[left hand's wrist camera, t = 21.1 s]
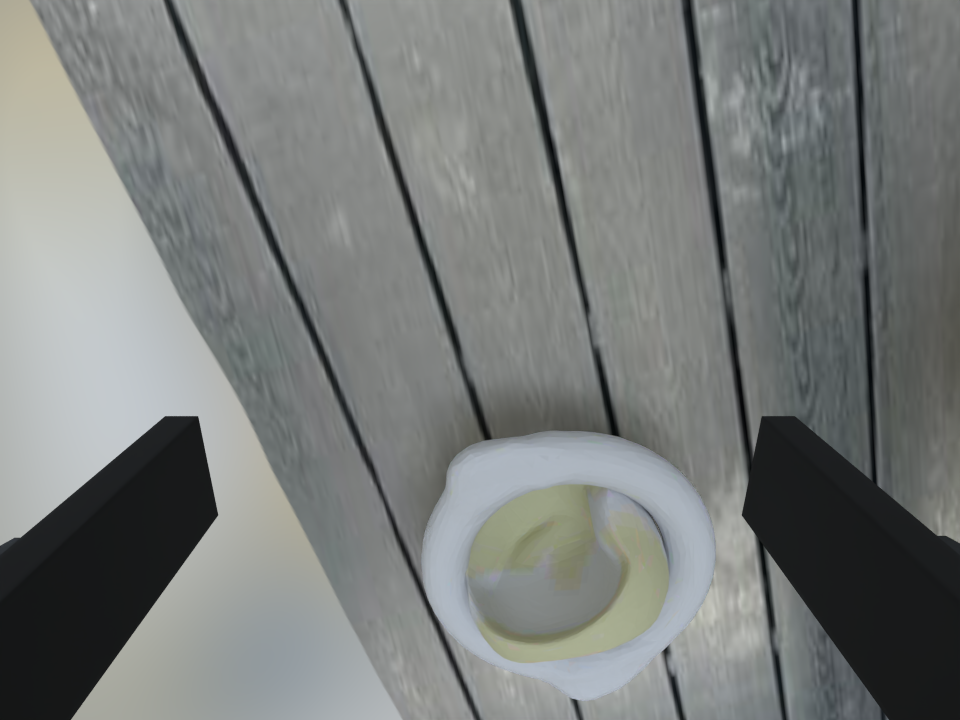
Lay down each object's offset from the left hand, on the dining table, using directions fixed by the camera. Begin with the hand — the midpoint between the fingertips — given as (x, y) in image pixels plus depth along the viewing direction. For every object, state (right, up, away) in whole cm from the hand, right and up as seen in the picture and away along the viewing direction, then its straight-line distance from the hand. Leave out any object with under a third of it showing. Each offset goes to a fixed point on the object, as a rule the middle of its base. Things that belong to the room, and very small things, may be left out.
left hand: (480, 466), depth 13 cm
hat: (+6, -10, +35) cm, 37 cm away
